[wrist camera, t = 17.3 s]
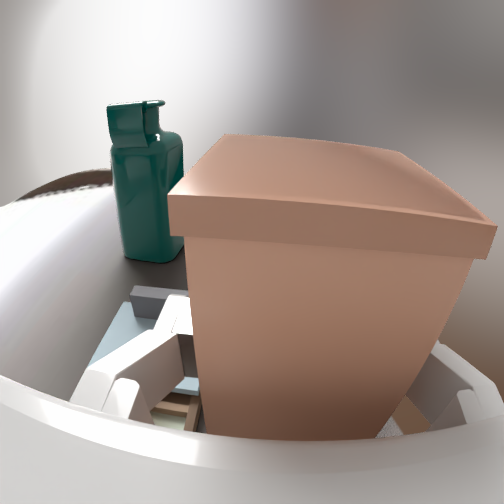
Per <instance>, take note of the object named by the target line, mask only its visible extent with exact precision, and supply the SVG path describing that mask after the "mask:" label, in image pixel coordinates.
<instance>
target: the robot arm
mask: <svg viewBox="0 0 504 504" xmlns="http://www.w3.org/2000/svg"><path fill="white" fill-rule="evenodd" d="M185 377H191V378H198V372H197V364H196V357H195V349H194V340H193V332H192V323H191V313H190V304H189V296H186V295H177V294H170V295H169V296H168V298H167V300H166V302H165V304H164V307H163V309H162V311H161V313H160V315H159V318H158V320H157V322H156V324H155V327H154V329H153V330H147V331H145V332H144V333H142V334H140V335H139V336H137V337H136V338H134V339H132V340H131V341H129V342H128V343H126V344H124V345H123V346H121V347H120V348H118V349H116V350H115V351H113V352H112V353H110V354H108V355H107V356H105V357H104V358H102V359H100V360H99V361H97V362H96V363H94V364H92V365H91V366H89V367H87V368H86V370H85V372H84V374H83V376H82V378H81V379H80V381H79V383H78V385H77V387H76V389H75V391H74V393H73V395H72V397H71V399H70V401H69V402H67V401H64V400H62V399H59V398H56V397H53V396H50V395H48V394H45V393H42V392H40V391H37V390H35V389H32V388H30V387H27V386H25V385H22V384H20V383H18V382H15V381H13V380H11V379H9V378H6V377H4V376H2V375H0V504H504V404H503V401H502V399H501V397H500V395H499V392H498V390H497V388H496V386H495V384H494V383H493V382H492V381H490V380H489V379H488V378H487V377H486V376H484V375H483V374H482V373H481V372H479V371H478V370H477V369H475V368H474V367H473V366H472V365H470V364H469V363H468V362H467V361H465V360H464V359H463V358H461V357H460V356H459V355H457V354H456V353H455V352H454V351H452V350H451V349H450V348H449V347H447V346H446V345H445V344H440V343H439V341H438V339H437V341H436V343H435V345H434V347H433V349H432V351H431V352H430V354H429V356H428V358H427V360H426V361H425V363H424V365H423V366H422V368H421V370H420V372H419V373H418V375H417V377H416V378H415V380H414V381H413V383H412V385H411V386H410V388H409V389H408V391H407V393H406V394H405V395H406V396H407V397H408V398H409V399H410V400H411V402H412V403H413V404H414V405H415V406H416V408H417V409H418V410H419V411H420V412H421V413H422V414H423V416H424V417H425V418H426V419H427V420H428V421H429V423H430V424H431V426H430V427H429V428H428V429H427V430H426V432H422V433H416V434H409V435H401V436H392V437H383V438H371V439H357V440H337V441H285V440H264V439H250V438H238V437H228V436H219V435H211V434H204V433H197V432H190V431H184V430H178V429H173V428H167V427H162V426H157V425H155V424H154V421H153V419H152V417H151V414H150V412H149V411H151V410H152V409H153V408H154V407H155V406H156V405H157V404H158V403H159V402H160V401H161V400H162V399H163V398H165V397H166V396H167V395H168V394H169V393H170V392H171V391H172V390H173V389H174V388H175V387H176V386H177V385H178V384H179V383H180V382H181V381H182V380H184V379H185Z"/></svg>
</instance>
